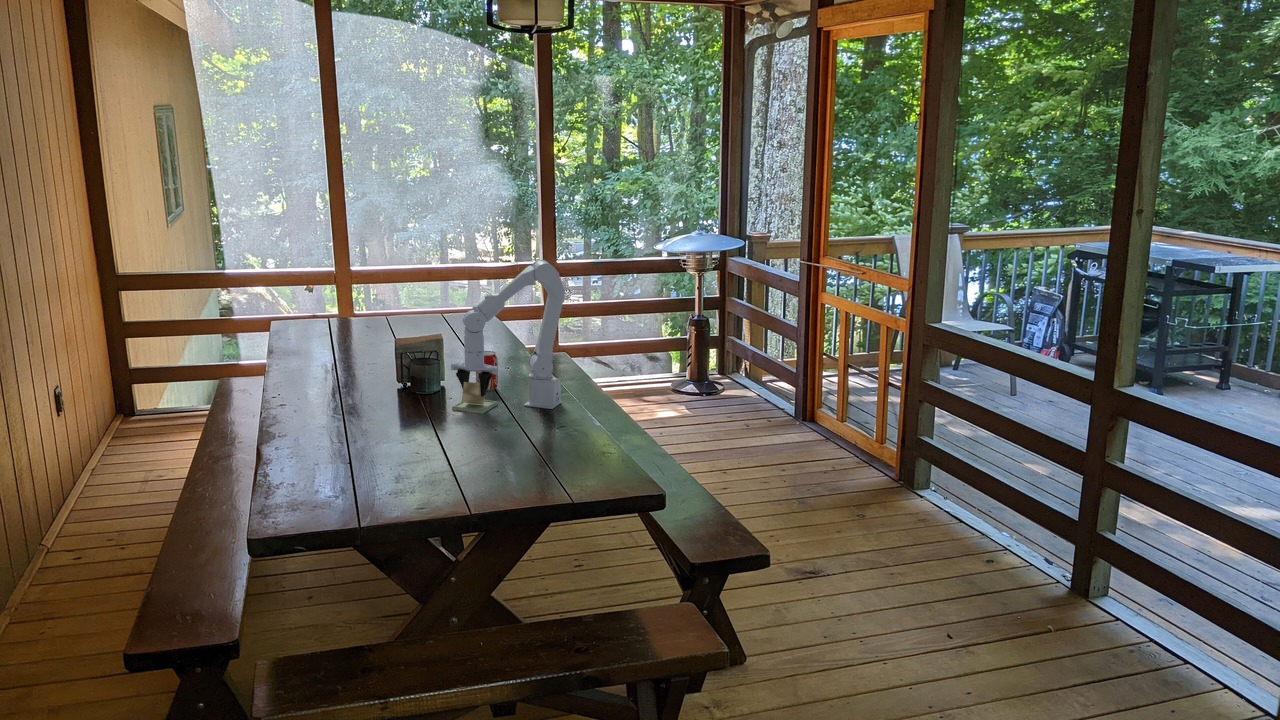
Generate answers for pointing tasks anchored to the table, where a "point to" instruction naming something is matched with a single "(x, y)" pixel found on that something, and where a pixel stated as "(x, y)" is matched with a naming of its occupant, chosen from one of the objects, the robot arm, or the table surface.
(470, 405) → the tray
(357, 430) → the table surface
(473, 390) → the maple block
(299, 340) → the table surface
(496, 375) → the soda can
